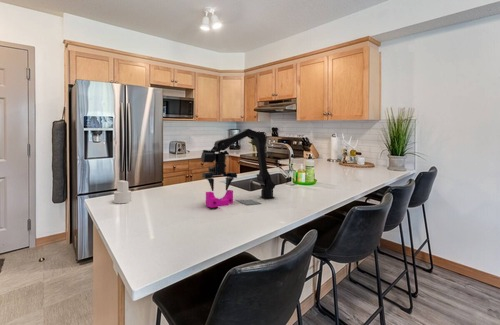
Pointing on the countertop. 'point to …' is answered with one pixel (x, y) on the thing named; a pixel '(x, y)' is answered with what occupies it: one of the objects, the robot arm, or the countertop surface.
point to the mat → (248, 202)
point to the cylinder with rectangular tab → (122, 192)
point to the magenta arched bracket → (215, 202)
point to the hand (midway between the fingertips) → (219, 190)
